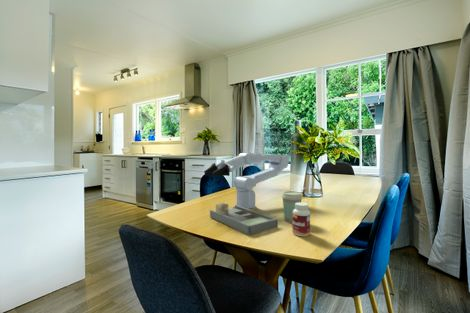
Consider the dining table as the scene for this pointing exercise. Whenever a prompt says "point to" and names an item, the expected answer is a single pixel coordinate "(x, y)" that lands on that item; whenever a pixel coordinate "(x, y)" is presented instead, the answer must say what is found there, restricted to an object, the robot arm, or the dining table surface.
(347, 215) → the dining table surface
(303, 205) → the pill bottle
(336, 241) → the dining table surface
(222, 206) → the birch block
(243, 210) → the box
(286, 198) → the coffee cup
